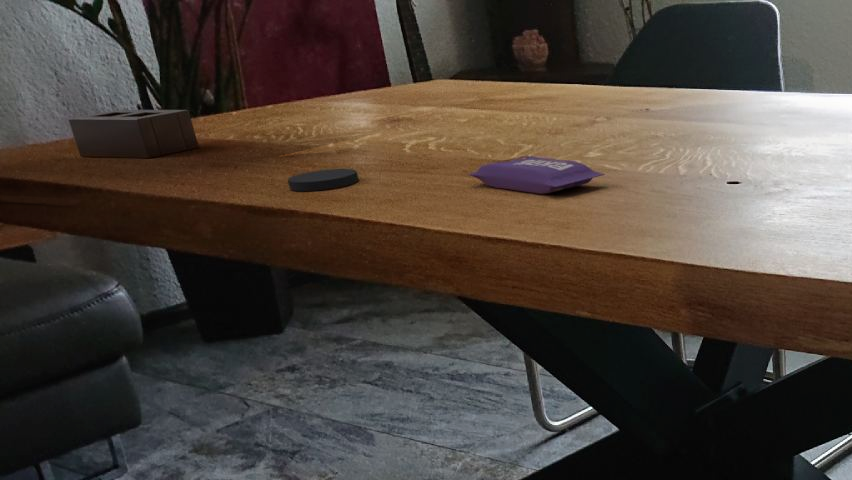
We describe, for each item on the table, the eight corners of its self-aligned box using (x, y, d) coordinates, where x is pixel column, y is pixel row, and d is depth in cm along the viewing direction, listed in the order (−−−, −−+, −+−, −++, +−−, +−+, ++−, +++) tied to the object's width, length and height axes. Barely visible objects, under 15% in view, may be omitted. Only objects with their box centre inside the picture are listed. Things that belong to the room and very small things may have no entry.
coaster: (287, 194, 91) (285, 184, 91) (292, 182, 96) (290, 173, 96) (358, 186, 93) (356, 176, 92) (359, 175, 98) (357, 166, 97)
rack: (148, 158, 114) (137, 119, 113) (80, 156, 119) (67, 118, 117) (199, 147, 119) (188, 109, 118) (131, 146, 124) (120, 109, 122)
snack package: (604, 161, 85) (554, 174, 82) (608, 186, 86) (558, 200, 83) (513, 151, 92) (463, 162, 89) (517, 174, 93) (468, 186, 90)
